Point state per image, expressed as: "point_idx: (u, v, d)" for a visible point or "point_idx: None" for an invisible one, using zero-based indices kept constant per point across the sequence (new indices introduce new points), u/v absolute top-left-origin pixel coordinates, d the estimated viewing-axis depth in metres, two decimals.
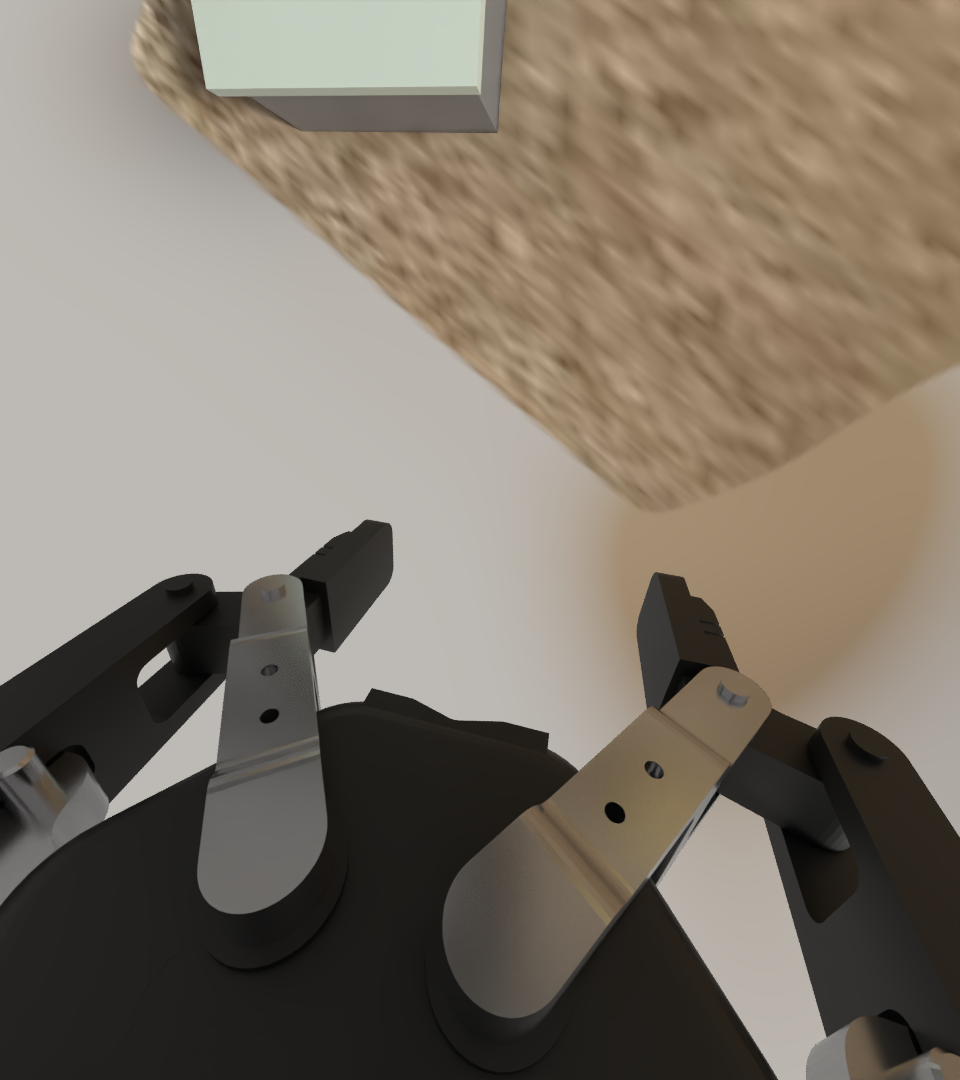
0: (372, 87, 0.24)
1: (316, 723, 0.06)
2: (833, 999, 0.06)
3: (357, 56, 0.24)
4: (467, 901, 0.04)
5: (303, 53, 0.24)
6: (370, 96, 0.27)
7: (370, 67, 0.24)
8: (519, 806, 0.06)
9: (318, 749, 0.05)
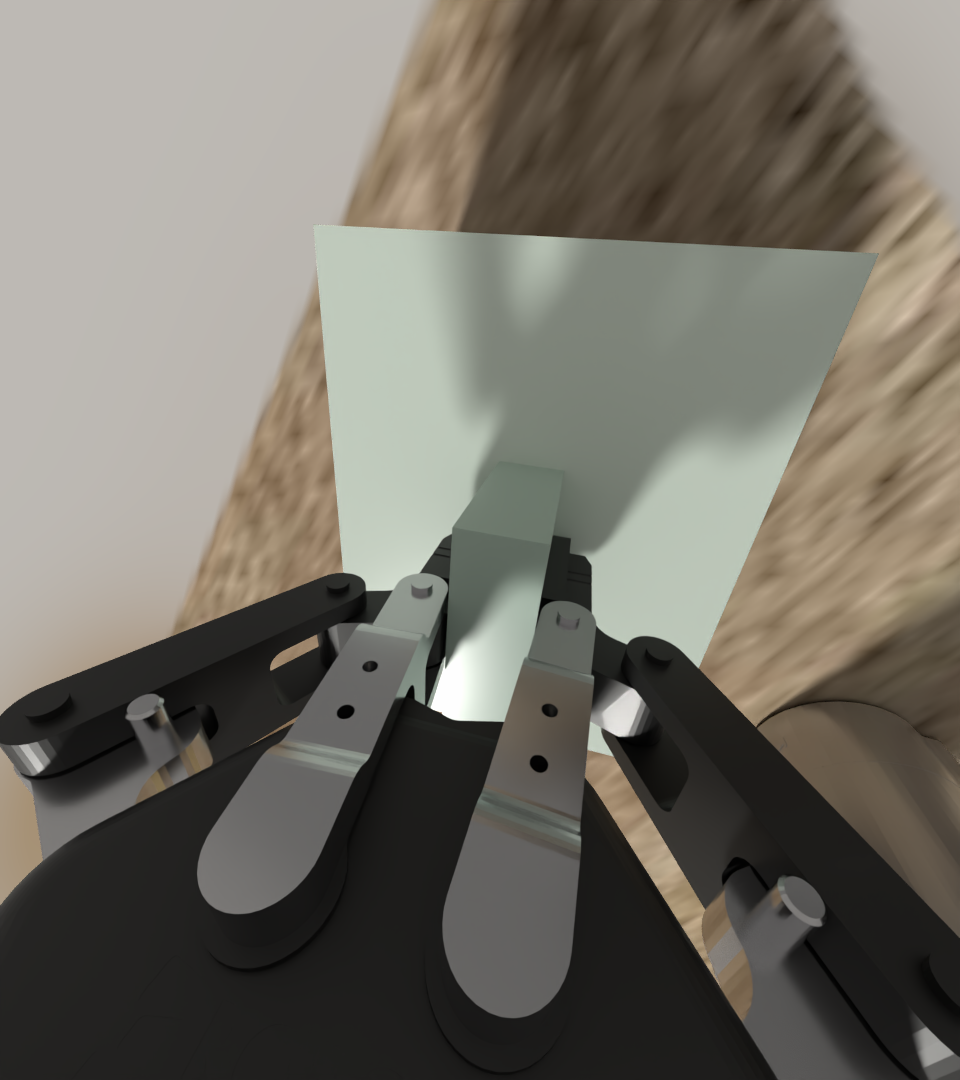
0: None
1: (375, 741, 0.06)
2: (695, 866, 0.07)
3: (372, 563, 0.16)
4: (467, 901, 0.04)
5: (372, 479, 0.14)
6: None
7: (362, 578, 0.16)
8: None
9: (355, 772, 0.05)
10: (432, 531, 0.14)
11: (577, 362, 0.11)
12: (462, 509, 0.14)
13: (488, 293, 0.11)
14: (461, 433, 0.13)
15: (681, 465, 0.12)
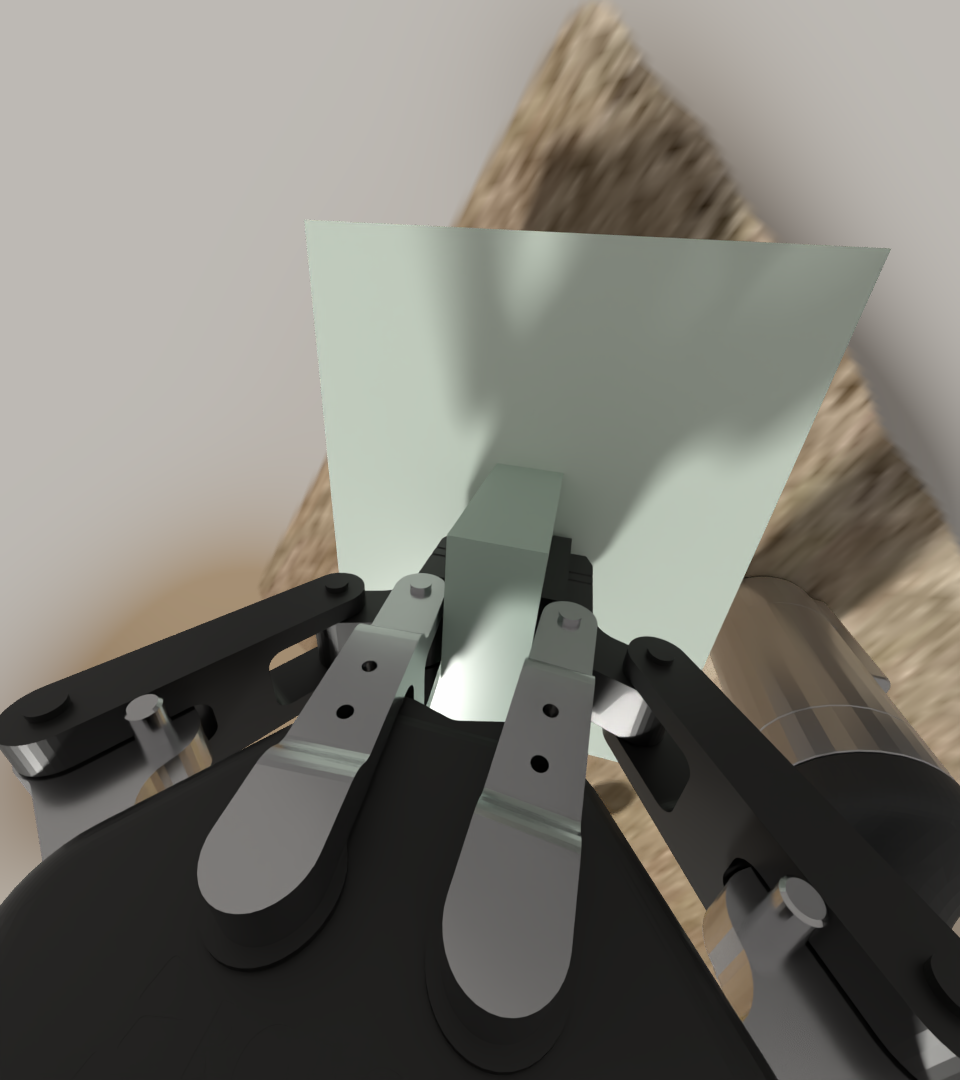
0: None
1: (375, 741, 0.06)
2: (696, 867, 0.07)
3: (368, 566, 0.15)
4: (467, 901, 0.04)
5: (368, 481, 0.14)
6: None
7: None
8: None
9: (355, 772, 0.05)
10: (429, 534, 0.14)
11: (577, 362, 0.11)
12: (459, 512, 0.14)
13: (485, 290, 0.11)
14: (458, 434, 0.12)
15: (683, 467, 0.11)
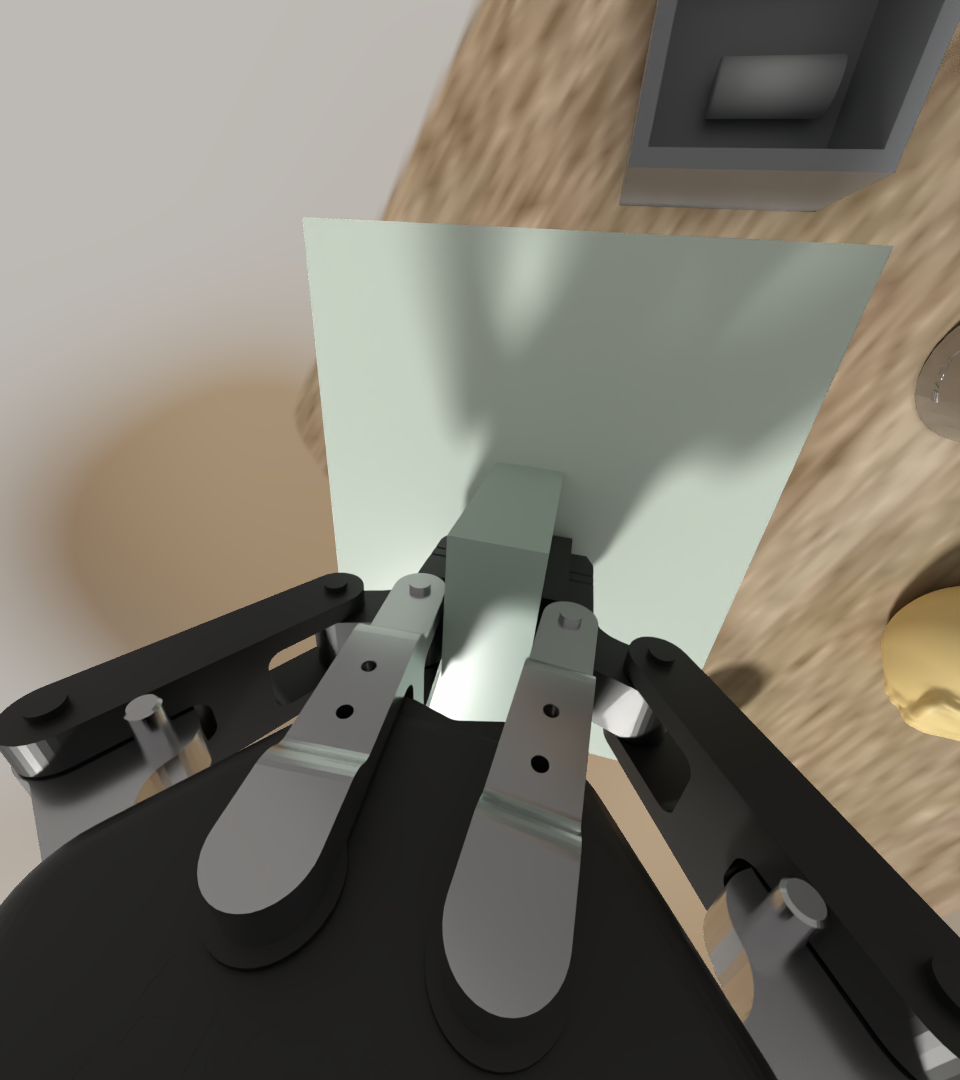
0: None
1: (375, 740, 0.06)
2: (696, 867, 0.07)
3: (367, 565, 0.15)
4: (467, 901, 0.04)
5: (367, 480, 0.14)
6: None
7: None
8: None
9: (355, 772, 0.05)
10: (429, 534, 0.14)
11: (577, 360, 0.11)
12: (459, 511, 0.13)
13: (484, 288, 0.10)
14: (457, 433, 0.12)
15: (684, 466, 0.11)
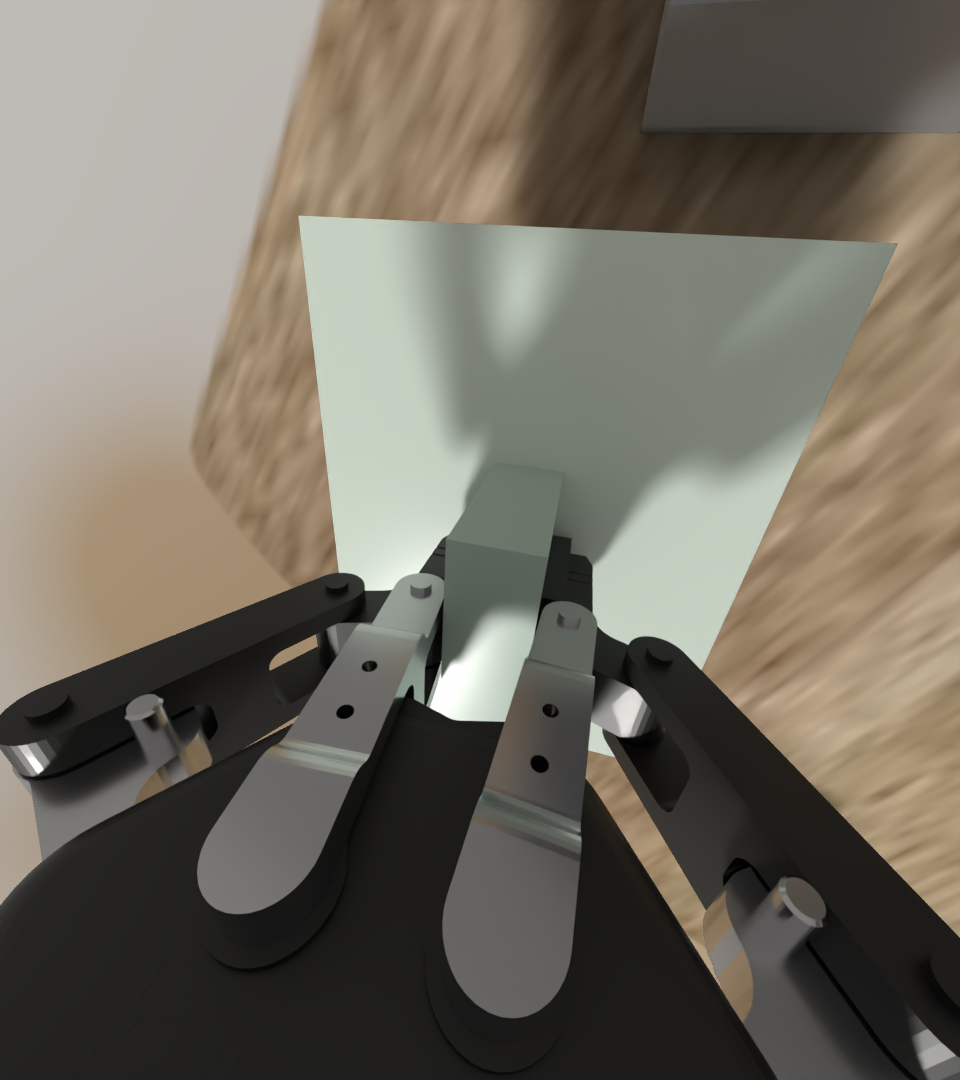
0: None
1: (375, 741, 0.06)
2: (695, 866, 0.07)
3: (368, 565, 0.15)
4: (467, 901, 0.04)
5: (366, 480, 0.14)
6: None
7: None
8: None
9: (355, 772, 0.05)
10: (429, 533, 0.14)
11: (577, 360, 0.11)
12: (459, 511, 0.13)
13: (483, 287, 0.10)
14: (457, 434, 0.12)
15: (685, 466, 0.11)
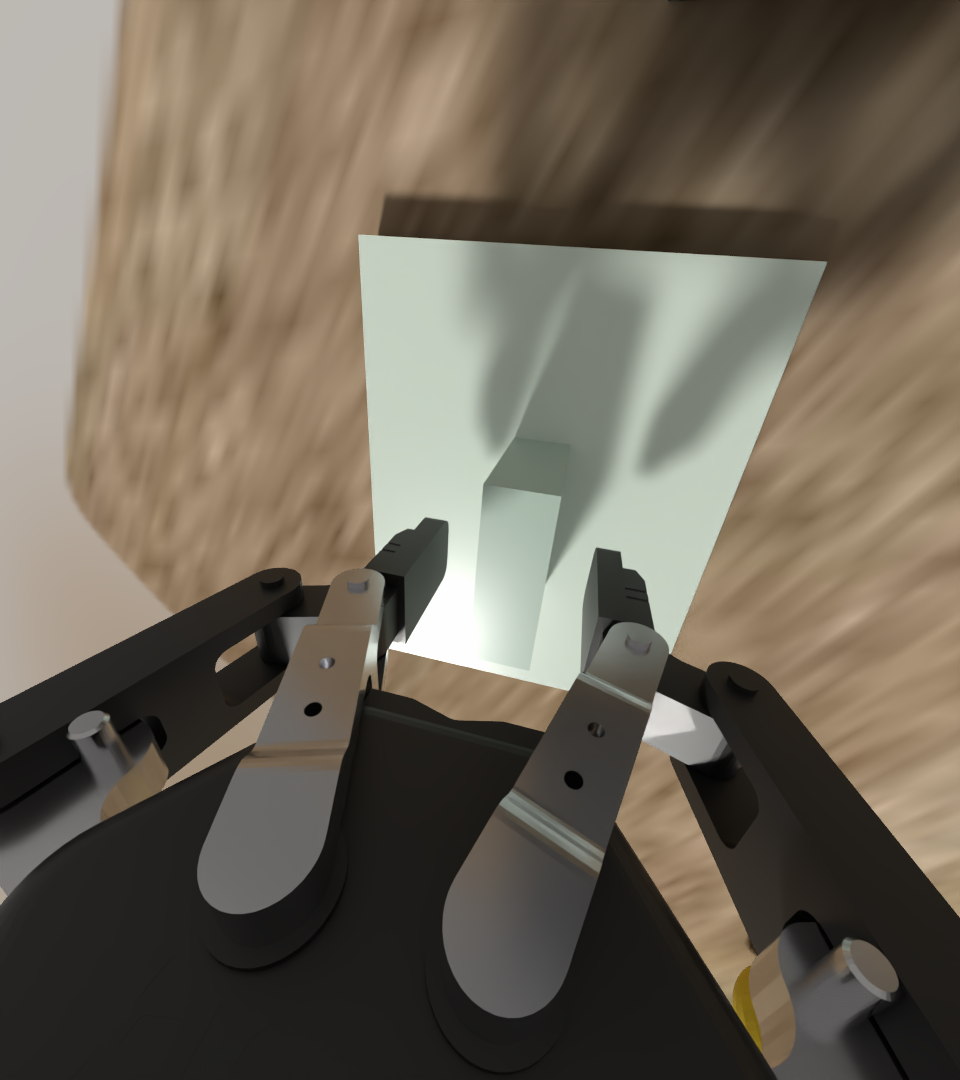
0: (375, 539, 0.19)
1: (351, 729, 0.06)
2: (753, 912, 0.06)
3: (400, 530, 0.18)
4: (467, 901, 0.04)
5: (403, 454, 0.16)
6: None
7: None
8: None
9: (340, 759, 0.05)
10: (455, 500, 0.17)
11: (581, 351, 0.13)
12: (481, 480, 0.16)
13: (506, 293, 0.13)
14: (482, 413, 0.15)
15: (669, 439, 0.14)
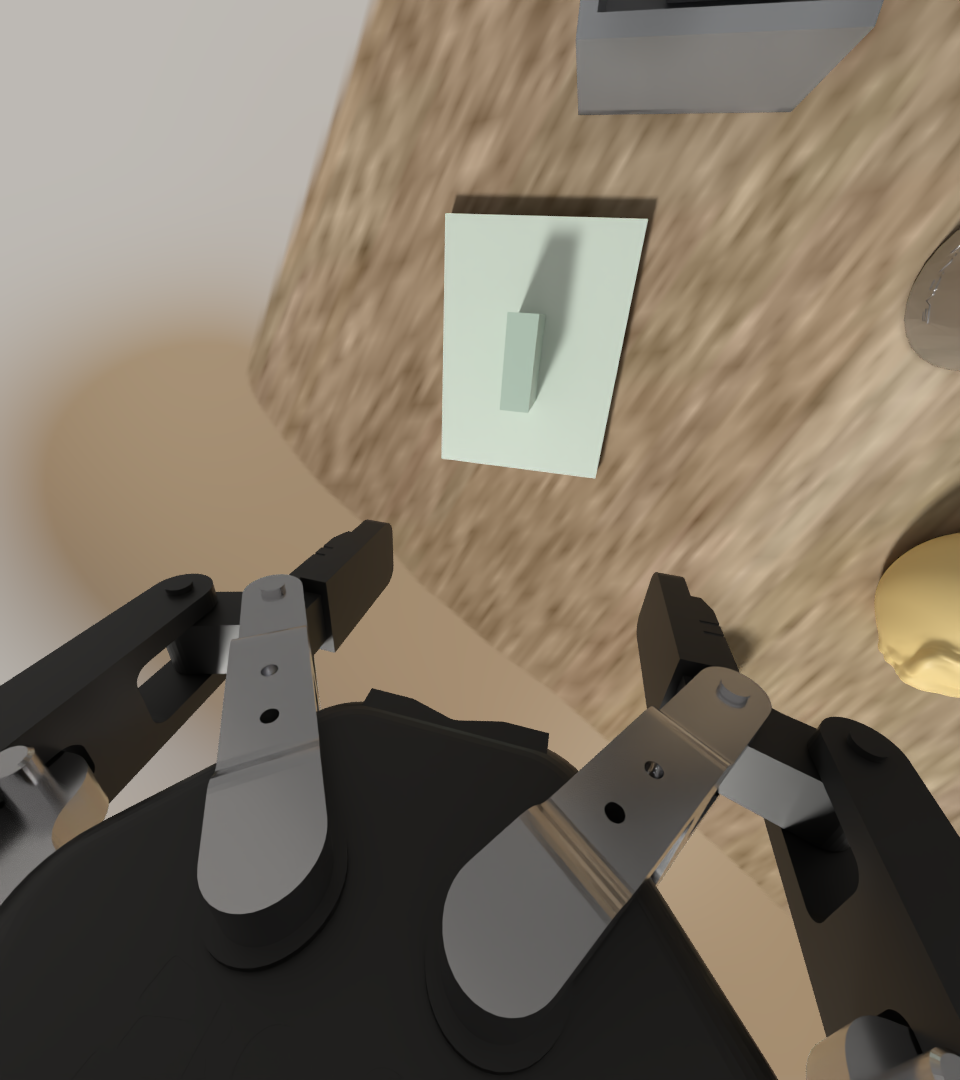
0: (443, 383, 0.34)
1: (316, 723, 0.06)
2: (833, 999, 0.06)
3: (457, 375, 0.33)
4: (467, 901, 0.04)
5: (461, 328, 0.32)
6: None
7: (452, 384, 0.34)
8: (519, 806, 0.06)
9: (318, 749, 0.05)
10: (488, 353, 0.32)
11: (549, 265, 0.29)
12: (502, 339, 0.31)
13: (514, 238, 0.28)
14: (502, 301, 0.30)
15: (592, 307, 0.29)
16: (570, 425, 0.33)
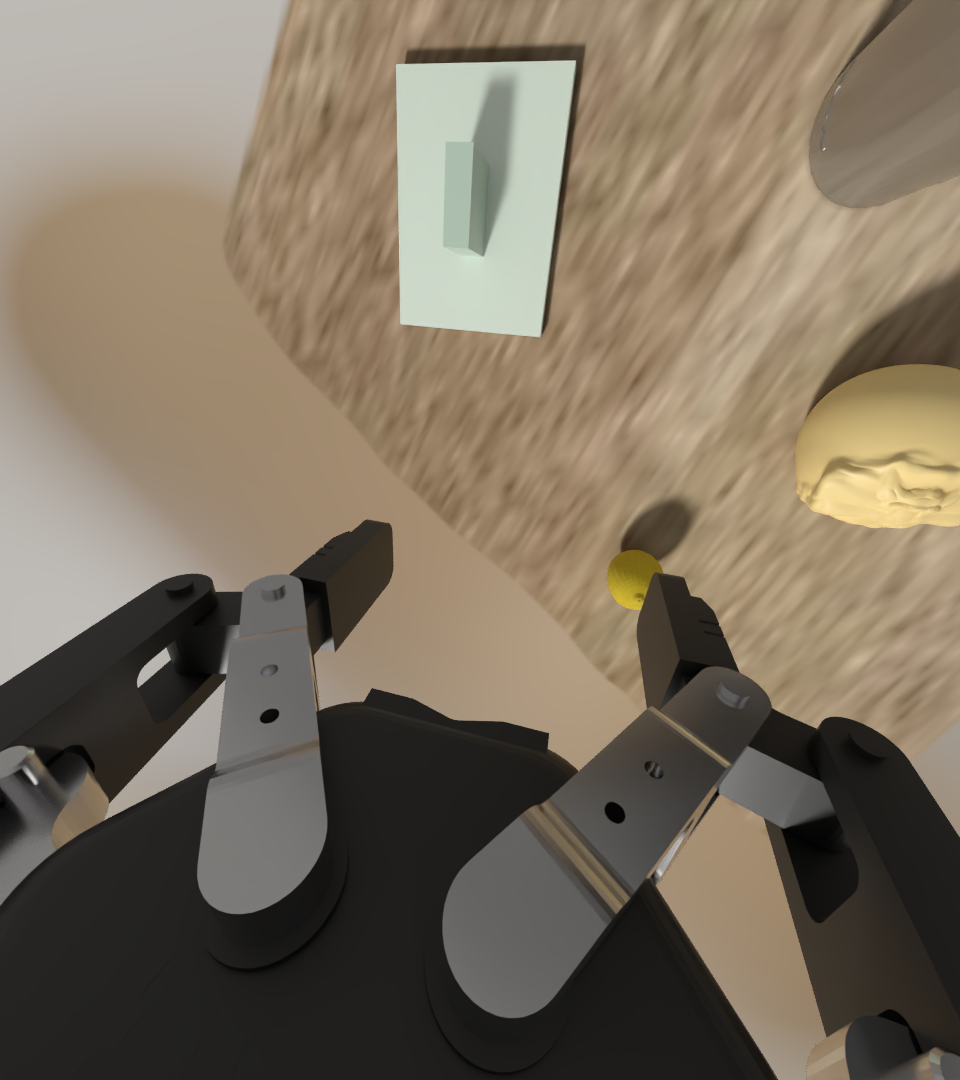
0: (399, 244, 0.37)
1: (316, 723, 0.06)
2: (833, 999, 0.06)
3: (412, 233, 0.36)
4: (467, 901, 0.04)
5: (414, 183, 0.34)
6: None
7: (407, 244, 0.36)
8: (519, 806, 0.06)
9: (318, 749, 0.05)
10: (438, 208, 0.35)
11: (490, 113, 0.31)
12: None
13: (458, 87, 0.31)
14: None
15: (530, 155, 0.32)
16: (515, 281, 0.36)
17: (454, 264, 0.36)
